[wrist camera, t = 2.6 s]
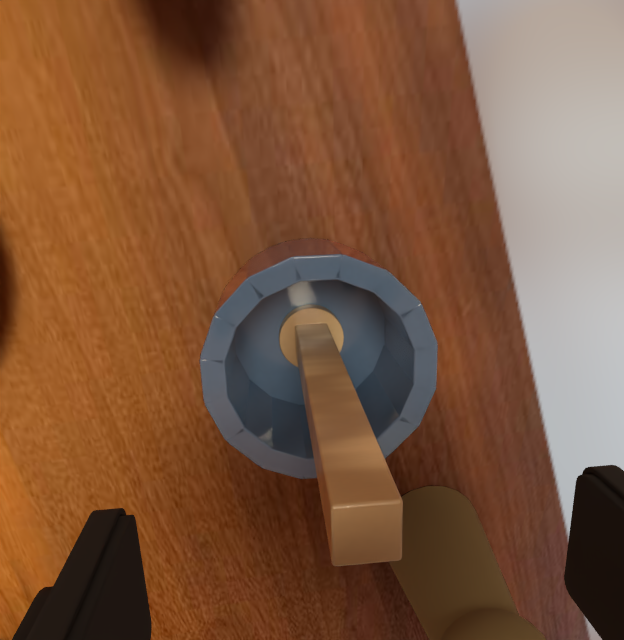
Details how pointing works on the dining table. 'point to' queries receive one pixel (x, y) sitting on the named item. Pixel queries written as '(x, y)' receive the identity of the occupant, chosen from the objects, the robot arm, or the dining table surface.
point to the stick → (342, 444)
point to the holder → (283, 377)
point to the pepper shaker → (454, 571)
